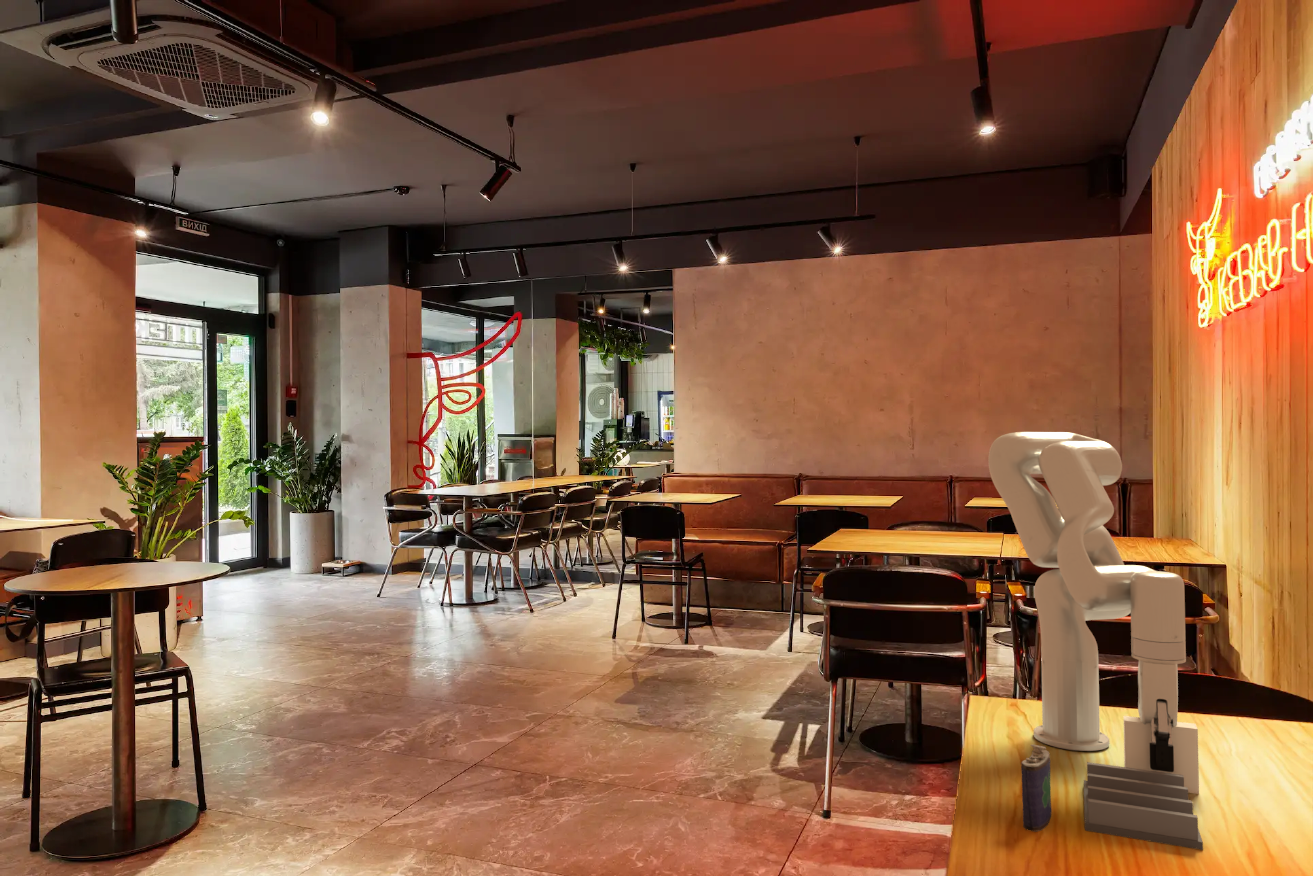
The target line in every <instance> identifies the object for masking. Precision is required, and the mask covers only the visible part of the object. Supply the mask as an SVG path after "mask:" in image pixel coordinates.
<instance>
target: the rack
mask: <svg viewBox="0 0 1313 876" xmlns="http://www.w3.org/2000/svg"><path fill="white" fill-rule="evenodd" d="M1086 768H1087V769H1086V773H1087V774H1086V775H1087V776H1086V779H1087V780H1083V797H1084V798H1083V801H1084V802H1083V803H1084V804H1083V807H1084V810H1083V813H1084V831H1087V832H1092V833H1093V832H1094V833H1097V834H1098V833H1100V834H1106V835H1111V836H1117V837H1123V838H1128V839H1129V838H1130V839H1135V840H1141V841H1147V842H1153V843H1159V844H1164V845H1170V846H1177V847H1182V848H1183V847H1184V848H1190V849H1196V850H1202V851H1203V850H1204V843H1203V839H1202V836H1201V833H1200V830H1199V822H1198V821H1199V820H1198V815H1197V814H1194V806H1193V805H1194V803H1193V801H1192V800H1190V799H1189V793H1188V788H1187V787H1184V776H1183V775H1179V774H1172V773H1164V772H1157V771H1149V770H1142V769H1135V768H1127V767H1124V766H1119V765H1111V764H1103V763H1096V762H1090V761H1089V762H1088V761H1086Z"/></svg>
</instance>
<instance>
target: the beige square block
mask: <svg viewBox="0 0 1313 876" xmlns="http://www.w3.org/2000/svg"><path fill="white" fill-rule="evenodd" d="M1167 723H1168V721H1167ZM1154 724H1158V720H1154ZM1196 724H1197V723H1193V722H1192V723H1191V722H1185V721H1183V722H1181V721H1177V726H1175V727H1173V728H1172V746H1173V748H1174V771H1173V772H1166V771H1159V770H1152V769H1151V768H1150V743H1152V741H1151V723H1147V722H1146V725H1145V724H1143V723H1142V722H1141V720H1140V716H1139V717H1138V716H1128V715H1123V754H1124V757H1123V759H1124V762H1123V763H1124V766H1123V767H1127V768H1135V769H1142V770H1149V771H1157V772H1164V773H1172V774H1179V775H1183V776H1184V787H1187V788H1188V794H1189V793H1191V794H1195V795H1196V794H1197V795H1199V794H1200V781H1199V780H1200V778H1199V776H1200V774H1199V730H1198V727H1197V725H1196ZM1171 727H1172V726H1171ZM1156 730H1158V728H1155V732H1156Z"/></svg>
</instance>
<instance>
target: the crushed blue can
mask: <svg viewBox="0 0 1313 876" xmlns="http://www.w3.org/2000/svg"><path fill="white" fill-rule="evenodd" d="M1030 747H1032V748H1033V750H1032V751H1031V755H1030V756H1029V757H1026V758H1025V759H1024V760H1022V761H1021V763H1020V765H1021V766H1020V767H1021V769H1020V770H1021V788H1022V789H1021V791H1022V792H1021V798H1022V801H1021V802H1022V827H1023V828H1024V829H1025V831H1030V832H1040V831H1043V830H1044V829H1045V828H1046V827H1047V826H1048V825H1049V824H1050V821H1051V818H1052V813H1053V812H1052V801H1051V800H1052V798H1051V796H1052V794H1051V793H1052V791H1051V753H1050V752H1049V751H1048V750H1047V748H1046V746H1042V745H1038V744H1037V745H1036V744H1034V743H1033V744H1030Z"/></svg>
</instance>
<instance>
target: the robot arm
mask: <svg viewBox="0 0 1313 876" xmlns="http://www.w3.org/2000/svg"><path fill="white" fill-rule="evenodd" d="M990 445H991V446H990V447H989V452H988V457H987V459H988V460H987V461H988V470H989V474H990V478H991V481H992V483H993V485H994V487H995V489H996V491H997V492H998V494H999V496H1000V497H1001V499H1002V500H1003V502H1004V503H1005V505H1006V507H1007V509H1008V511H1009V513H1010V515H1011V518H1012V522H1013V523H1014V526H1015V530H1016V532H1017V533H1018V536H1019V539H1020V542H1021V544H1022V547H1023V549H1024V551H1025V553H1026V556H1027V558H1028V559H1029V560H1030V562H1031V564H1033V565H1035V566H1036V567H1040V568H1051V570H1047V571H1045V572H1044V573H1042V574H1041V575H1040V576H1039V577H1038V578H1037V580H1036V582H1035V583H1034V584H1035V585H1034V588H1033V589H1034V590H1033V591H1034V601H1035V604H1036V610H1037V615H1038V621H1039V627H1040V628H1039V629H1040V653H1041V657H1040V658H1041V709H1042V711H1041V713H1042V715H1041V716H1042V717H1041V718H1042V724H1041V725H1039V726H1036V727H1035V728H1033V737H1034V739H1036V740H1037V741H1038V742H1040V743H1042V744H1044V745H1048V746H1051V747H1054V748H1058V749H1063V750H1070V751H1077V752H1078V751H1081V752H1094V751H1100V750H1105V749H1107V748H1108V747H1109V746H1110V738H1109V737H1108V735H1106V734H1105V733H1103V732H1101V731H1100V728H1101V727H1100V723H1101V722H1100V684H1099V681H1100V675H1099V673H1100V672H1099V671H1100V670H1099V650H1098V649H1099V648H1098V643H1097V641H1096V638H1095V636H1094V635H1093V632H1092V631H1091V630H1090V629H1089V627H1088V625H1087V623H1086V621H1087V622H1088V621H1091V620H1092V621H1096V620H1098V621H1099V620H1100V621H1101V620H1116V619H1122V618H1125V617H1126V616H1128V615H1130V631H1131V632H1130V636H1131V639H1130V642H1131V643H1130V645H1131V649H1130V651H1131V658H1133V659H1134V660H1137V661H1138V666H1137V688H1138V691H1137V693H1138V697H1137V699H1138V702H1137V706H1138V707H1137V710H1138V716H1139V718H1140V720H1141V722H1142V723H1143V724H1145V725H1146V722H1147V723H1151V741H1152V743H1150V768H1151V769H1152V770H1159V771H1166V772H1173V771H1174V748H1173V746H1172V728H1173V727H1175V726H1177V722H1178V713H1179V712H1178V710H1179V709H1178V708H1179V707H1178V705H1179V703H1178V702H1179V697H1178V696H1179V689H1178V688H1179V686H1178V685H1179V683H1178V682H1179V681H1178V679H1179V678H1178V677H1179V676H1178V665H1180V664H1184V663H1186V662H1187V653H1186V652H1187V651H1186V650H1187V649H1186V642H1187V641H1186V602H1185V599H1186V598H1185V596H1186V595H1185V583H1184V580H1183V579H1184V578H1182V576H1181V575H1179V574H1177V573H1174V572H1168V571H1158V570H1155V569H1152V568H1150V567H1147V566H1144V565H1136V564H1126V565H1125V562H1124V561H1123V558H1122V557H1121V554H1120V552H1119V550H1118V548H1117V546H1116V544H1115V541H1114V540H1113V538H1112V535H1111V534H1110V532H1109V530H1107V528H1106V527H1105V526H1104V525H1105V524H1106V523H1108V522H1109V521H1110V519H1112V518H1113V515H1114V513H1115V508H1114V507H1115V506H1114V505H1113V502H1112V501H1111V499H1110V497H1109V494H1108V493H1107V491H1106V490H1105V488H1104V486H1111V485H1113V484H1114V483H1116V482H1117V481H1118V480H1119V479H1120V478H1121V475H1122V471H1123V463H1122V460H1121V459H1122V458H1121V456H1120V454H1119V452H1118V450H1116V448H1115V447H1114V446H1112V445H1111V444H1110V443H1108V442H1106V441H1104V440H1101V439H1097V438H1092V437H1089V436H1085V435H1081V434H1078V433H1074V432H1067V431H1066V432H1065V431H1017V432H1009V433H1006V434H1002V435H1000V436H998V437H997V438H996V439H994V441H993V442H992V443H991V444H990ZM1032 475H1042V477H1043V479H1044V481H1045V483H1046V485H1047V487H1048V489H1049V490H1048V489H1047V488H1046V487H1045V486H1044V485H1042V483H1040V482H1039V481H1038V480H1036V479H1035V478H1034V477H1032ZM1052 568H1053V569H1052ZM1154 720H1158V724H1154ZM1167 721H1168V723H1167ZM1171 726H1172V727H1171ZM1155 728H1158V730H1156V732H1155Z"/></svg>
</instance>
